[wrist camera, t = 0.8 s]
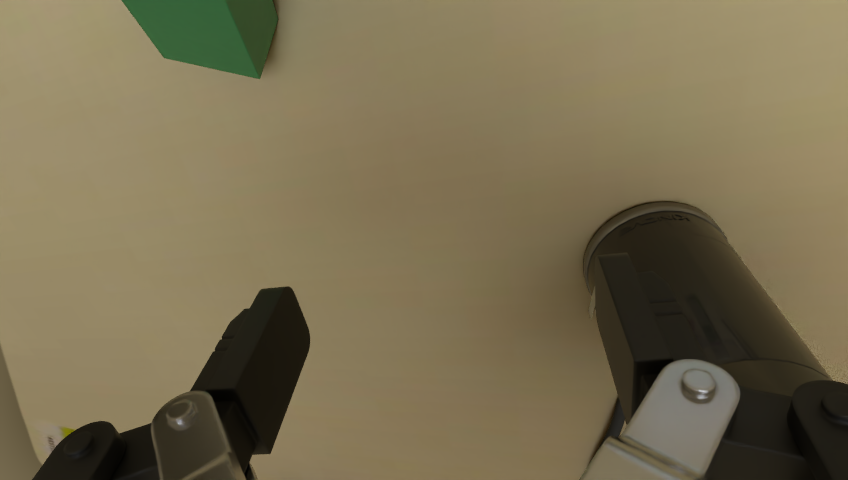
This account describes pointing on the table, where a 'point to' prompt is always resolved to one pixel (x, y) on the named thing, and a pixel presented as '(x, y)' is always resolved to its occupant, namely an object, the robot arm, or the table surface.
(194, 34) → the block
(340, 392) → the table surface
